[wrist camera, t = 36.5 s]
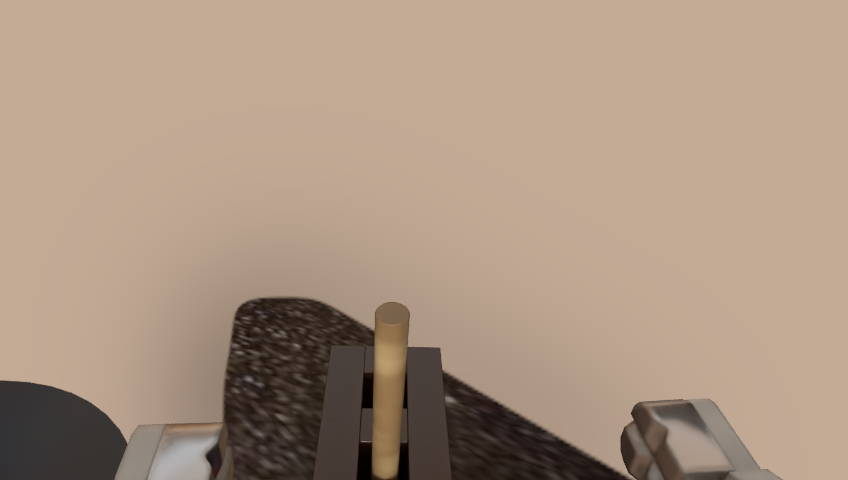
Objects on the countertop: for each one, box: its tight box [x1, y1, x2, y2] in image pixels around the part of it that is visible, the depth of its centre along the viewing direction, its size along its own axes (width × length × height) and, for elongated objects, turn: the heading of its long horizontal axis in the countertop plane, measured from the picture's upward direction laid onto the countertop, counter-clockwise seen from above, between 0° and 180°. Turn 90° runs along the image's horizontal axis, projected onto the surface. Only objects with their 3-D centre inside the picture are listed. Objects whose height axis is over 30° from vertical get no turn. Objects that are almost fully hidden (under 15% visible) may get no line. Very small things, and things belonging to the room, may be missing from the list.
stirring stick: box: [371, 302, 410, 480], centre depth 30 cm, size 2×2×20 cm
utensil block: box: [313, 346, 452, 480], centre depth 36 cm, size 8×14×8 cm, turn 2°
